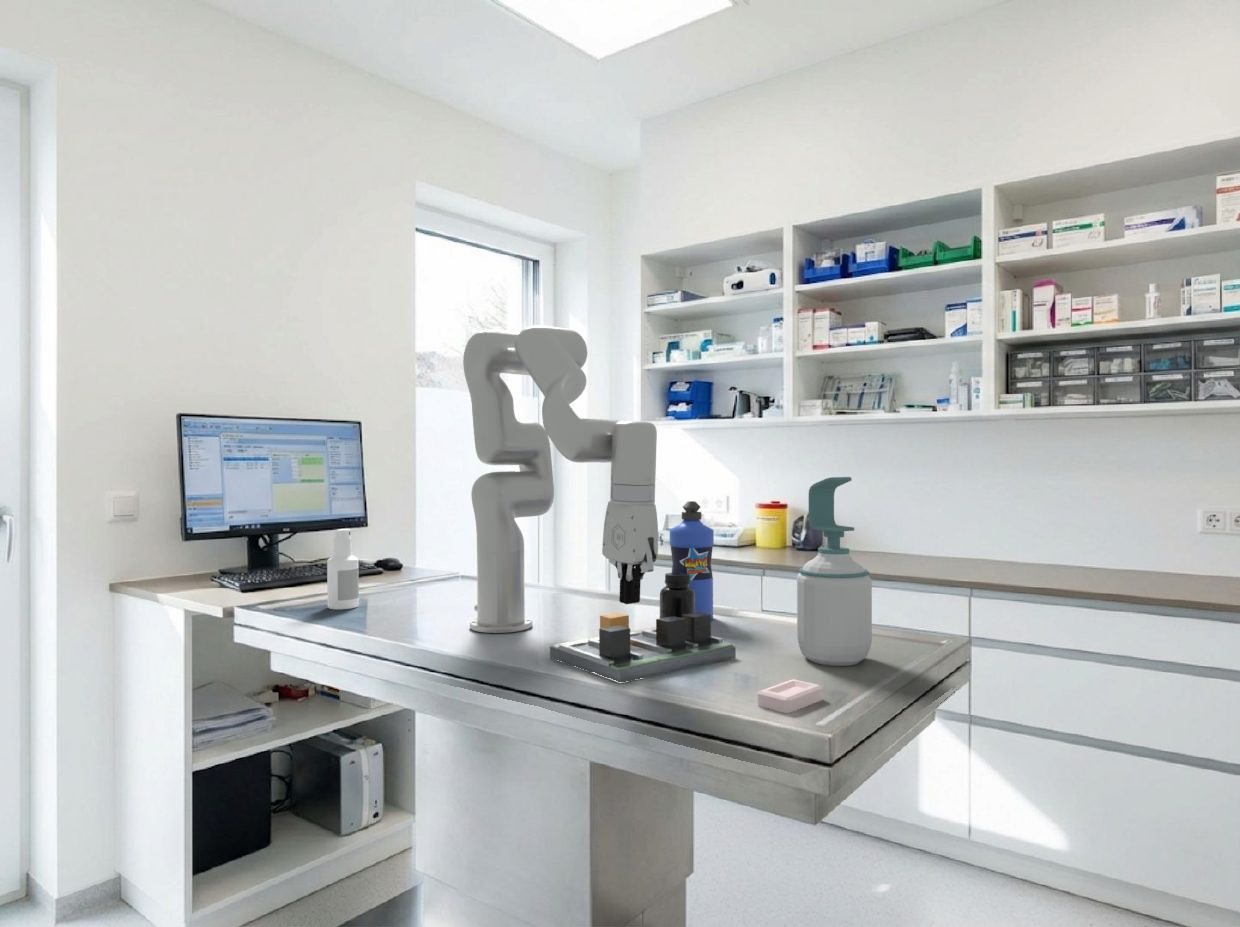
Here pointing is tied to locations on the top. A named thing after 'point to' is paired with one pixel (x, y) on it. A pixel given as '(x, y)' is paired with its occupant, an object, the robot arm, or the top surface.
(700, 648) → the breaker panel
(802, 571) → the soap bottle
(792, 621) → the top surface
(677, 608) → the supplement bottle
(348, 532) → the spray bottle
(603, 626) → the handle
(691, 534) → the water bottle
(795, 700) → the soap bar
